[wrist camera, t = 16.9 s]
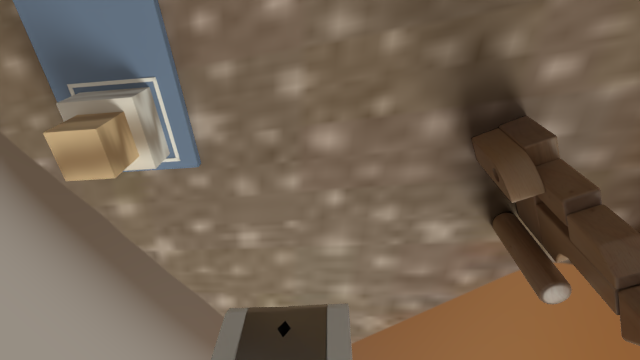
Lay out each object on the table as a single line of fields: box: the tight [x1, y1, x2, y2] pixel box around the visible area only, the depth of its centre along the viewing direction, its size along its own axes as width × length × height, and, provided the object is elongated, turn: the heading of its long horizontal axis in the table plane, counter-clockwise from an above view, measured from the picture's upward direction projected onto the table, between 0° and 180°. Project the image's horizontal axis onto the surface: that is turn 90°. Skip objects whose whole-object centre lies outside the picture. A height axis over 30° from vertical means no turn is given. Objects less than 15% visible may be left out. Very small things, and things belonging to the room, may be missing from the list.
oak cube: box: [43, 112, 139, 181], centre depth 36 cm, size 5×5×5 cm
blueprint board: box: [13, 0, 201, 172], centre depth 40 cm, size 22×14×1 cm, turn 5°
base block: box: [56, 87, 170, 171], centre depth 40 cm, size 8×8×4 cm
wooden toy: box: [471, 116, 640, 346], centre depth 34 cm, size 16×7×25 cm, turn 24°
